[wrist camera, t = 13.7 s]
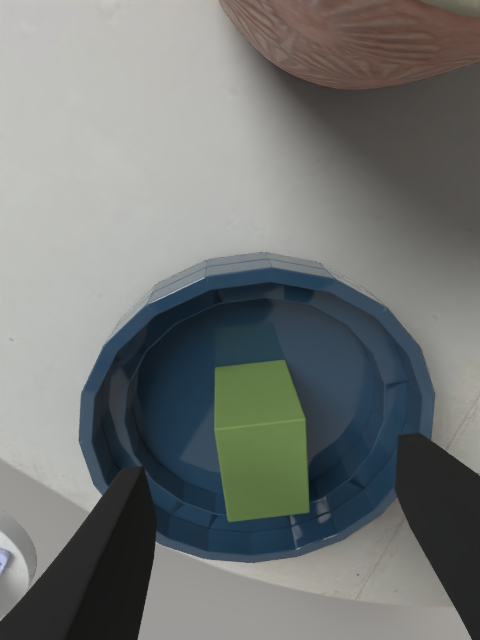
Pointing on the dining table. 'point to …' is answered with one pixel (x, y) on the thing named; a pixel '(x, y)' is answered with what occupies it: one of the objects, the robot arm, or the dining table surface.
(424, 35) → the planter
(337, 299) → the bowl
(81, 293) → the dining table surface
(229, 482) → the scrub pad
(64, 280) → the dining table surface
